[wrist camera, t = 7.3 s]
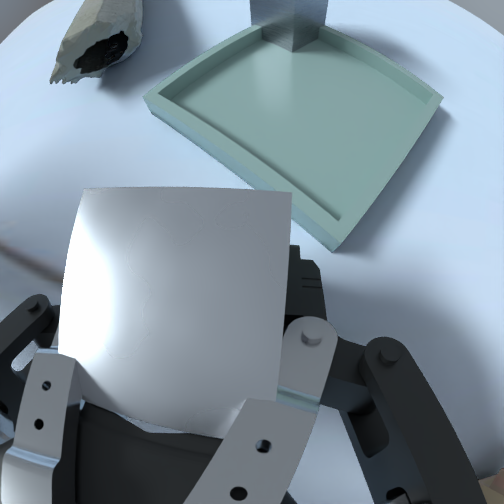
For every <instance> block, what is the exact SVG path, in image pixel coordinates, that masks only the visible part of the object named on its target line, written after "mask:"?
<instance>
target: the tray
mask: <svg viewBox="0 0 504 504" xmlns="http://www.w3.org/2000/svg"><path fill="white" fill-rule="evenodd" d="M443 98H444V97H443V96H441V95H440V94H439V93H438V92H436V91H435V90H434V89H432V88H431V87H430V86H429V85H427V84H426V83H425V82H423V81H422V80H420V79H419V78H418V77H416V76H415V75H413V74H412V73H411V72H409V71H408V70H406V69H405V68H403V67H402V66H400V65H399V64H397V63H395V62H394V61H392V60H391V59H389V58H387V57H386V56H384V55H382V54H381V53H379V52H377V51H375V50H374V49H372V48H370V47H368V46H366V45H365V44H363V43H361V42H359V41H357V40H355V39H353V38H351V37H349V36H347V35H345V34H343V33H341V32H339V31H336V30H334V29H332V28H330V27H328V26H325V25H324V26H322V27H320V28H319V36H318V39H317V40H315V41H313V42H311V43H309V44H307V45H305V46H303V47H302V48H300V49H298V50H296V51H294V52H290V51H288V50H285V49H283V48H281V47H279V46H277V45H274V44H272V43H270V42H267V41H265V40H263V39H262V28H261V27H260V26H257V25H253V26H251V27H249V28H247V29H245V30H243V31H241V32H239V33H237V34H235V35H233V36H232V37H230V38H228V39H226V40H224V41H223V42H221V43H219V44H217V45H216V46H214V47H212V48H211V49H209V50H207V51H206V52H204V53H203V54H201V55H199V56H198V57H196V58H195V59H193V60H192V61H190V62H189V63H187V64H186V65H184V66H183V67H181V68H180V69H178V70H177V71H176V72H174V73H173V74H171V75H170V76H169V77H167V78H166V79H165V80H163V81H162V82H161V83H159V84H158V85H157V86H155V87H154V88H153V89H151V90H150V91H149V92H148V93H146V94H145V95H144V96H143V99H144V100H145V102H146V104H147V106H148V108H149V110H150V111H151V113H152V114H153V115H155V116H156V117H157V118H159V119H160V120H162V121H163V122H165V123H166V124H168V125H169V126H171V127H172V128H173V129H175V130H176V131H178V132H179V133H180V134H182V135H183V136H185V137H186V138H187V139H189V140H190V141H192V142H193V143H194V144H196V145H197V146H199V147H200V148H201V149H203V150H204V151H205V152H207V153H208V154H209V155H211V156H212V157H213V158H215V159H216V160H218V161H219V162H220V163H222V164H223V165H224V166H225V167H227V168H228V169H229V170H231V171H232V172H233V173H235V174H236V175H237V176H239V177H240V178H241V179H243V180H244V181H245V182H246V183H248V184H249V185H250V186H252V187H253V188H254V189H255V190H267V191H281V192H292V209H291V219H293V220H294V221H295V222H296V223H297V224H299V225H300V226H301V227H302V228H303V229H305V230H306V231H307V232H308V233H309V234H311V235H312V236H313V237H314V238H315V239H316V240H318V241H319V242H320V243H321V244H322V245H323V246H325V247H326V248H327V249H328V250H329V251H330V252H333V251H334V250H335V249H336V248H337V247H338V246H340V245H341V243H342V242H343V241H344V240H345V238H346V237H347V236H348V235H349V233H350V232H351V231H352V230H353V228H354V227H355V226H356V224H357V223H358V222H359V220H360V219H361V218H362V217H363V215H364V214H365V213H366V211H367V210H368V209H369V207H370V206H371V205H372V203H373V202H374V201H375V199H376V198H377V197H378V195H379V194H380V192H381V191H382V190H383V188H384V187H385V186H386V184H387V183H388V181H389V180H390V179H391V177H392V176H393V174H394V173H395V172H396V170H397V169H398V167H399V166H400V164H401V163H402V161H403V160H404V159H405V157H406V156H407V154H408V153H409V151H410V150H411V148H412V147H413V145H414V144H415V142H416V141H417V139H418V138H419V136H420V135H421V133H422V132H423V130H424V128H425V127H426V125H427V124H428V122H429V121H430V119H431V117H432V116H433V114H434V113H435V111H436V109H437V108H438V106H439V104H440V103H441V101H442V100H443Z"/></svg>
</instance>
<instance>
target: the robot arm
mask: <svg viewBox="0 0 504 504" xmlns="http://www.w3.org/2000/svg"><path fill="white" fill-rule="evenodd" d="M60 312H61V305H55V306H51V304H50V302H49V300H48V298H47V297H46V296H45V295H42V294H37V295H33V296H31V297H29V298H28V299H26V300H25V301H24V302H23V303H22V304H21V305H19V306H18V307H17V308H16V309H15V310H14V311H13V312H11V313H10V314H9V315H8V316H7V317H6V318H5V319H4V320H3V321H2V322H0V504H297V503H296V501H295V500H294V499H293V498H292V497H291V495H290V494H289V493H288V492H287V489H288V487H289V484H290V482H291V480H292V478H293V475H294V473H295V471H296V469H297V466H298V464H299V461H300V459H301V457H302V454H303V452H304V449H305V447H306V444H307V441H308V439H309V436H310V434H311V431H312V428H313V425H314V423H315V420H316V417H317V414H318V411H319V407H320V404H322V405H325V406H328V407H332V408H335V409H338V410H339V413H340V415H341V418H342V420H343V423H344V425H345V428H346V430H347V433H348V435H349V438H350V440H351V443H352V445H353V448H354V451H355V453H356V456H357V458H358V461H359V464H360V466H361V469H362V471H363V474H364V477H365V479H366V482H367V485H368V487H369V490H370V493H371V495H372V498H373V501H374V504H487V502H486V499H485V497H484V494H483V492H482V489H481V487H480V484H479V482H478V480H477V477H476V475H475V473H474V470H473V468H472V466H471V464H470V461H469V459H468V457H467V455H466V453H465V451H464V449H463V447H462V445H461V443H460V441H459V439H458V437H457V435H456V433H455V431H454V429H453V427H452V425H451V423H450V421H449V419H448V418H447V416H446V414H445V412H444V410H443V408H442V407H441V405H440V403H439V401H438V399H437V398H436V396H435V394H434V392H433V391H432V389H431V387H430V386H429V384H428V382H427V381H426V379H425V377H424V376H423V374H422V372H421V371H420V369H419V367H418V366H417V364H416V362H415V361H414V359H413V358H412V356H411V354H410V353H409V351H408V350H407V348H406V347H405V346H404V345H403V344H402V343H400V342H399V341H397V340H395V339H393V338H389V337H378V338H375V339H373V340H371V341H370V342H369V343H368V344H367V346H362V345H359V344H356V343H352V342H349V341H346V340H344V339H342V338H340V337H338V336H337V332H336V330H335V328H334V327H333V326H332V325H331V324H330V323H329V322H327V317H326V309H325V302H324V295H323V289H322V282H321V275H320V269H319V268H318V266H317V265H316V264H315V263H314V261H313V260H304V259H300V247H299V245H290V246H289V262H288V277H287V290H286V303H285V315H284V326H283V337H282V348H281V358H280V367H279V377H278V385H277V394H276V401H270V400H261V399H252V398H247V399H246V401H245V403H244V404H243V406H242V408H241V410H240V412H239V413H238V415H237V417H236V419H235V421H234V422H233V424H232V426H231V428H230V429H229V431H228V433H227V434H226V436H225V438H224V439H220V438H214V437H208V436H202V435H197V434H192V433H148V432H145V431H143V430H142V429H140V428H138V427H137V426H135V425H133V424H132V423H130V422H129V421H127V416H125V415H122V414H119V413H116V412H113V411H110V410H107V409H105V408H102V407H99V406H97V405H94V404H92V403H89V402H87V401H84V400H82V399H81V398H82V390H81V385H80V380H79V374H78V368H77V362H76V359H75V358H72V357H69V356H66V355H64V354H60V353H59V326H60ZM32 340H33V341H34V342H35V344H36V345H37V346H38V348H39V349H38V350H37V351H36V352H35V355H34V358H33V359H32V360H31V361H30V362H29V363H28V364H27V365H26V366H25V367H24V369H23V370H21V371H15V370H14V369H13V368H12V367H11V363H12V361H13V359H14V358H15V357H16V356H17V355H18V354H19V353H20V352H21V351H22V350H23V349H24V348H25V347H26V346H27V345H28V344H29V343H30V342H31V341H32Z"/></svg>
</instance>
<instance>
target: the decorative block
mask: <svg viewBox="0 0 504 504" xmlns="http://www.w3.org/2000/svg"><path fill="white" fill-rule="evenodd" d="M142 16H143V5H142V0H85V1H84V3H83V5H82V6H81V8H80V9H79V11H78V13H77V14H76V16H75V18H74V20H73V22H72V23H71V25H70V27H69V29H68V31H67V32H66V34H65V37H64V38H63V40H62V42H61V45H60V48H59V51H58V54H57V58H56V64H55V68H54V70H53V72H52V75H51V78H50V84H52V83H53V81H55V84H57V83H58V82H59V81H60V80H61V79H62V84H65V83H66V82H70V81H71V84H73V83H77V82H78V81H79V80H80V79H82V78H84V77H90V78H92V77H97V78H100V77H101V76H102V74H103V72H104V70H105V69H106V68H108V67H109V66H110V65H112V64H115V63H118V62H121V61H124V60H125V59H126V58H127V57H129V56H130V55H131V54H132V53H134V52H135V50H136V48H137V47H138V46H140V43H141V38H142V36H143V35H142V33H141V30H140V29H141V26H142V18H143V17H142ZM120 30H122V31H124V34H125V35H127V36H128V37H129V40H128V42H127V43H128V48H127V50H126V51H125V53H124V54H123V55H122V57H121V58H120V59H119V60H118V61H116V62H114V63H111V64H107V62H108V61H109V60H111V59H112V58H114V57H115V55H113V56H111V58H110V59H108V58H109V57H108V58H106V57H105V55H106V54H108V53H110V52H112V51H113V50H115V49H117V47H115V48H110V47H114V46H115V45H117V44H118V43H117V44H115V43H114V44H111V45H110V46H108V40H109V37H110V36H112V35H114V34H117V33H119V32H120ZM122 50H123V49H122ZM121 53H123V51H120V54H121Z"/></svg>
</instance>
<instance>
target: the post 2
mask: <svg viewBox="0 0 504 504" xmlns="http://www.w3.org/2000/svg"><path fill="white" fill-rule="evenodd" d="M327 6H328V0H250V11H251V26H253V25H257V26H260V27H261V28H262V39H263V40H265V41H267V42H270V43H272V44H274V45H277V46H279V47H281V48H283V49H285V50H288V51H290V52H294V51H296V50H298V49H300V48H302V47H303V46H305V45H307V44H309V43H311V42H313V41H315V40H317V39H318V36H319V28H320V27H322V26H324V25H325V19H326V13H327Z"/></svg>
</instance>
